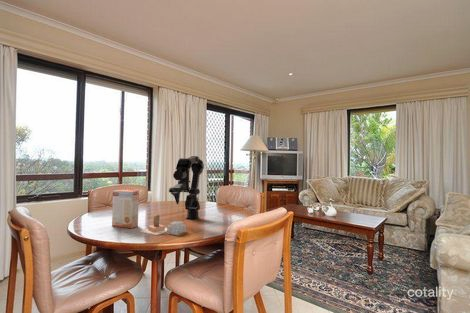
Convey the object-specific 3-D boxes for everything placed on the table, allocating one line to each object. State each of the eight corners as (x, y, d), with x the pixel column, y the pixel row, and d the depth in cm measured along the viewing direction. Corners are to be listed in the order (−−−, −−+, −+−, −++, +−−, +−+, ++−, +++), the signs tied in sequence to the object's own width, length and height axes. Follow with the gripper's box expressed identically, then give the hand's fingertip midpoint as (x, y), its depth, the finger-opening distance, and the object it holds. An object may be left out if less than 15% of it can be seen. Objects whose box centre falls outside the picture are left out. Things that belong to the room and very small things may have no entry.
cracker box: (138, 226, 146) (139, 190, 146) (131, 228, 140) (132, 191, 140) (119, 223, 150) (120, 189, 151) (111, 226, 145) (112, 190, 145)
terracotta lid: (147, 229, 138) (148, 214, 138) (158, 227, 142) (159, 213, 142) (153, 232, 133) (153, 217, 133) (164, 230, 138) (165, 215, 138)
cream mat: (139, 232, 134) (139, 231, 134) (155, 226, 145) (155, 226, 145) (157, 235, 130) (157, 234, 130) (171, 229, 141) (172, 228, 141)
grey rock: (166, 233, 133) (167, 223, 133) (175, 230, 139) (175, 220, 139) (177, 235, 130) (178, 224, 130) (185, 231, 136) (185, 221, 136)
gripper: (163, 179, 147) (162, 205, 147) (189, 180, 140) (189, 208, 140) (174, 178, 158) (174, 202, 157) (200, 179, 150) (199, 205, 150)
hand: (183, 204), depth 151 cm, fingers open, 9 cm apart
